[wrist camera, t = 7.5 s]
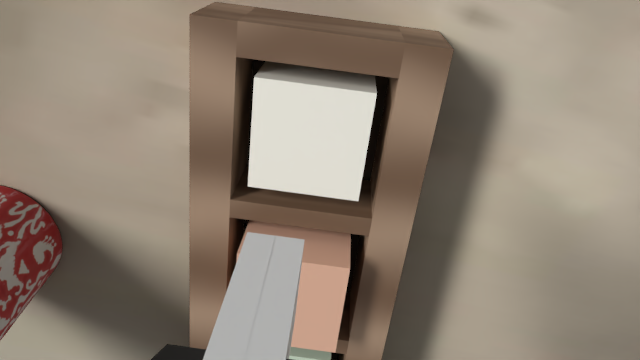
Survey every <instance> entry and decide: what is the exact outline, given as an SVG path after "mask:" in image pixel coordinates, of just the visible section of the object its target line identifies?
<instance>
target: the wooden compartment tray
mask: <svg viewBox="0 0 640 360" xmlns="http://www.w3.org/2000/svg"><path fill="white" fill-rule="evenodd" d="M453 51H454V49H453V48H452V47H451V45H450V44H449V43H448V42H447V41H446V39H445V38H444V37H443V36H442V35H441V33H440V32H439V31H432V30H424V29H417V28H409V27H401V26H394V25H386V24H379V23H371V22H363V21H356V20H348V19H341V18H333V17H326V16H318V15H310V14H303V13H295V12H288V11H280V10H272V9H265V8H257V7H250V6H242V5H235V4H227V3H219V2H214V3H212V4H210V5H208V6H206V7H204V8H202V9H200V10H198V11H196V12H194V13H192V14H190V347H192V348H199V349H207V346H208V343H209V340H210V338H211V335H212V332H213V329H214V326H215V323H216V320H217V317H218V315H219V312H220V309H221V306H222V303H223V300H224V297H225V295H226V292H227V289H228V286H229V283H230V280H231V277H232V274H233V272H234V269H235V266H236V261H237V252H238V249H239V246H240V244H241V241H242V238H243V225H244V219H246V220H253V221H261V222H268V223H275V224H283V225H290V226H298V227H305V228H313V229H320V230H327V231H335V232H342V233H350V234H357V235H360V240H359V245H358V251H357V256H356V262H355V267H354V273H353V278H352V284H351V290H350V293H347V292H346V295H345V301H344V307H343V312H342V318H341V324H340V329H339V335H338V341H337V347H336V352H335V353H339V356H338V360H381V359H382V354H383V350H384V346H385V342H386V337H387V333H388V329H389V325H390V320H391V316H392V312H393V307H394V303H395V299H396V295H397V290H398V286H399V282H400V277H401V273H402V269H403V265H404V260H405V256H406V252H407V247H408V243H409V239H410V235H411V230H412V226H413V222H414V218H415V213H416V209H417V205H418V200H419V196H420V192H421V188H422V183H423V179H424V175H425V170H426V166H427V162H428V158H429V153H430V149H431V145H432V141H433V136H434V132H435V128H436V123H437V119H438V115H439V111H440V106H441V102H442V98H443V93H444V89H445V85H446V81H447V76H448V72H449V68H450V63H451V59H452V55H453ZM253 59H255V60H263V61H270V62H278V63H285V64H293V65H300V66H308V67H315V68H323V69H331V70H338V71H346V72H353V73H361V74H368V75H376V76H383V77H389V79H388V85H387V90H386V96H385V101H384V107H383V113H382V118H381V124H380V129H379V135H378V140H377V146H376V151H375V157H374V162H373V168H372V173H371V179H370V181H367V180H362V183H361V189H360V195H359V201H352V200H344V199H337V198H329V197H322V196H314V195H307V194H300V193H292V192H285V191H277V190H270V189H262V188H255V187H248V171H249V165H248V164H247V155H248V137H249V119H250V102H251V84H252V66H253Z"/></svg>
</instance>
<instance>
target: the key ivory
mask: <svg viewBox="0 0 640 360" xmlns="http://www.w3.org/2000/svg"><path fill="white" fill-rule="evenodd" d="M376 96H377V89H376V82H375V75H368V74H361V73H353V72H346V71H338V70H331V69H323V68H315V67H308V66H300V65H293V64H285V63H278V62H270V61H265V62H264V64H263V65H262V67H261V68H260V69H259V71H258V72H257V74H256V75H255V76H254V86H253V103H252V120H251V137H250V154H249V171H248V187H255V188H262V189H270V190H277V191H285V192H292V193H300V194H307V195H314V196H322V197H329V198H337V199H344V200H352V201H359V195H360V189H361V183H362V178H363V172H364V166H365V160H366V154H367V149H368V143H369V137H370V131H371V125H372V120H373V114H374V108H375V102H376Z"/></svg>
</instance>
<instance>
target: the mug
mask: <svg viewBox="0 0 640 360" xmlns="http://www.w3.org/2000/svg"><path fill="white" fill-rule="evenodd" d="M61 255H62V239H61V235H60V232H59V230H58V227H57V225H56V224H55V222H54V220H53V219H52V217H51V216H50V215H49V213H48V212H46V210H45V209H44V208H43V207H42V206H40V205H39V204H38V203H37V202H36V201H34V200H33V199H32V198H30V197H28V196H27V195H25V194H23V193H21V192H19V191H16V190H14V189H12V188H8V187H5V186H0V340H1V339H2V338H3V337H4V335H5V334H6V333H7V331H8V330H9V329H10V327H11V326H12V325H13V323H14V322H15V321H16V319H17V318H18V317H19V316H20V314H21V313H22V312H23V310H24V309H25V308H26V306H27V305H28V304H29V302H30V301H31V300H32V298H33V297H34V296H35V294H36V293H37V292H38V290H39V289H40V288H41V287H42V286H43V284H44V283H45V282H46V280H47V279H48V277H49V276H50V275H51V274H52V272H53V271H54V269H55V268H56V266H57V265H58V263H59V261H60V258H61Z"/></svg>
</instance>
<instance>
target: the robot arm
mask: <svg viewBox="0 0 640 360" xmlns="http://www.w3.org/2000/svg"><path fill="white" fill-rule="evenodd" d="M304 241H305V239H297V238H289V237H282V236H274V235H267V234H259V233H251V232H247V234H246V237H245V240H244V243H243V246H242V249H241V251H240V254H239V257H238V260H237V263H236V266H235V269H234V272H233V274H232V277H231V280H230V283H229V286H228V289H227V292H226V295H225V297H224V300H223V303H222V306H221V309H220V312H219V315H218V317H217V320H216V323H215V326H214V329H213V332H212V335H211V338H210V340H209V343H208V346H207V349H199V348H192V347H184V346H177V345H169V344H167V345H166V346H165V347H164V348H163V349H162V350H161V351H160V352H159V353H158V354H156V355H155V356H154V357H153V358H152V359H151V360H293V359H289V355H290V348H291V342H292V335H293V329H294V322H295V314H296V306H297V298H298V290H299V282H300V273H301V265H302V257H303V249H304Z"/></svg>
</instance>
